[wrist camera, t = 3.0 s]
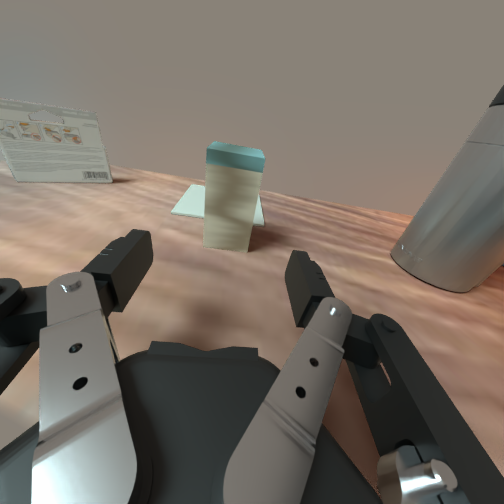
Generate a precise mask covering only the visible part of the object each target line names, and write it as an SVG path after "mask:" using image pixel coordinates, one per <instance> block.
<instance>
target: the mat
mask: <svg viewBox="0 0 504 504" xmlns="http://www.w3.org/2000/svg"><path fill="white" fill-rule="evenodd" d="M204 208H205V186H200V185H194V184H192V185H191V186H190V187H189V189H188V190H187V191H186V193H185V194H184V195H183V197H182V198H181V199H180V201H179V202H178V203H177V204H176V206H175V207H174V208H173V210H172V211H171V214H176V215H183V216H191V217H198V218H204ZM253 225H255V226H262V227H264V219H263V214H262V208H261V202H260V197H259V195H258V200H257V205H256V210H255V215H254V220H253Z"/></svg>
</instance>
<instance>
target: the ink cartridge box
mask: <svg viewBox="0 0 504 504" xmlns="http://www.w3.org/2000/svg"><path fill="white" fill-rule="evenodd" d="M41 110H45V111H47V112H49V113H52V114H54V115H56V116H58V117H60V118H62V119H63V121H64V123H55V122H46V121H38V120H31V119H30V118H29V114H31V113H34V112H37V111H41ZM0 149H1V151H2V153H3V155H4V157H5V159H6V162H7V164H8V166H9V168H10V170H11V172H12V175H13V177H14V179H15V180H16V181H17V182H49V183H112V182H113V180H112V175H111V170H110V166H109V161H108V157H107V152H106V147H105V146H103V143H102V139H101V133H100V129H99V125H98V120H97V116H96V112H93V111H86V110H79V109H72V108H64V107H58V106H51V105H44V104H38V103H30V102H23V101H17V100H10V99H3V98H0Z"/></svg>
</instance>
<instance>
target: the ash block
mask: <svg viewBox="0 0 504 504" xmlns="http://www.w3.org/2000/svg"><path fill="white" fill-rule="evenodd" d="M264 163H265V157H264V155H263V152H262V150H258V149H253V148H247V147H242V146H237V145H232V144H226V143H221V142H216V141H214V142H213V143H212V144H211V145H210V146H208V147H207V157H206V182H205V208H204V234H203V247H206V248H214V249H222V250H231V251H239V252H248V247H249V241H250V236H251V231H252V226H253V220H254V215H255V210H256V205H257V200H258V194H259V189H260V183H261V179H262V173H263V168H264Z"/></svg>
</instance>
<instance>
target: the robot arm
mask: <svg viewBox="0 0 504 504" xmlns="http://www.w3.org/2000/svg"><path fill="white" fill-rule="evenodd" d="M391 256H392V258H393V259H394V260H395V261H396V263H397V264H399V265H400V266H401V267H402V268H403V269H405V270H406V271H408V272H409V273H411V274H412V275H414V276H416V277H417V278H419V279H421V280H423V281H425V282H427V283H430V284H432V285H434V286H437V287H440V288H443V289H446V290H450V291H454V292H467V291H469V290H471V289H472V288H473V287H474V286H476V287H478V286H479V285H480V284H481V283H482V282H483V281H484V280H486V279H487V278H488V277H489V276H490V275H491V274H492V273H493V272H494V271H496V270H497V269H498V268H499V267H500V266H501V265H502V264H503V263H504V85H503V87H502V88H501V89H500V91H499V93H498V94H497V95H496V97H495V98H494V100H493V102H492V103H491V104H490V106H489V108H488V109H487V110H486V112H485V113H484V115H483V116H482V118H481V119H480V120H479V122H478V124H477V125H476V126H475V128H474V129H473V131H472V132H471V134H470V135H469V137H468V138H467V140H466V142H465V143H464V144H463V146H462V147H461V149H460V150H459V152H458V153H457V155H456V156H455V158H454V159H453V161H452V162H451V164H450V165H449V166H448V168H447V169H446V171H445V172H444V174H443V175H442V177H441V178H440V180H439V181H438V183H437V184H436V186H435V187H434V188H433V190H432V191H431V193H430V194H429V196H428V197H427V199H426V200H425V202H424V203H423V205H422V206H421V208H420V209H419V211H418V212H417V214H416V215H415V216H414V218H413V219H412V221H411V222H410V224H409V225H408V227H407V228H406V230H405V231H404V233H403V234H402V235H401V237H400V238H399V240H398V241H397V243H396V244H395V246H394V247H393V249H392V250H391ZM152 262H153V249H152V241H151V234H150V232H149V231H144V230H137V229H133V230H131V231H130V232H129V233H128V234H127V235H126V236H125V237H120V238H118V239H116V240H114V241H112V242H111V243H110V244H109V245H108V246H107V247H106V248H105V249H103V250H102V251H101V252H100V254H98V255H97V256H96V257H95V258H94V259H93V260H92V261H91V262H90V263H89V264H88V265H87V266H86V267H85V268H84V269H83V270H81V271H80V272H73V273H68V274H65V275H62V276H60V277H58V278H56V279H54V280H53V281H52V282H50V283H49V285H48V286H39V287H30V288H22V286H21V284H20V283H19V282H18V281H17V280H15V279H11V278H1V279H0V395H1V394H2V393H3V391H4V390H5V389H6V388H7V387H8V385H9V384H10V383H11V382H12V380H13V379H14V378H15V377H16V375H17V374H18V373H19V372H20V370H21V369H22V368H23V367H24V365H25V364H26V363H27V362H28V361H29V359H30V358H31V357H32V356H33V354H34V353H35V352H36V351H37V349H38V348H39V347H40V357H39V422H37V423H36V424H35V425H33V426H32V427H31V428H29V429H28V430H27V431H25V432H24V433H23V434H21V435H20V436H19V437H17V438H16V439H15V440H13V441H12V442H11V443H9V444H8V445H7V446H5V447H4V448H3V449H2V450H0V504H504V478H503V476H502V475H501V473H500V472H499V470H498V469H497V467H496V466H495V464H494V463H493V461H492V460H491V458H490V457H489V455H488V454H487V453H486V451H485V450H484V448H483V447H482V445H481V444H480V442H479V441H478V439H477V438H476V436H475V435H474V433H473V432H472V430H471V429H470V427H469V426H468V424H467V423H466V422H465V420H464V419H463V417H462V416H461V414H460V413H459V411H458V410H457V408H456V407H455V405H454V404H453V402H452V401H451V399H450V398H449V396H448V395H447V393H446V392H445V390H444V389H443V388H442V386H441V385H440V383H439V382H438V380H437V379H436V377H435V376H434V374H433V373H432V371H431V370H430V368H429V367H428V365H427V364H426V362H425V361H424V359H423V358H422V357H421V355H420V354H419V352H418V351H417V349H416V348H415V346H414V345H413V343H412V342H411V340H410V339H409V337H408V336H407V334H406V333H405V331H404V330H403V329H402V327H401V326H400V325H399V324H398V323H397V322H396V321H394V320H393V319H392V318H390V317H388V316H386V315H383V314H374V315H372V317H371V318H370V319H366V318H363V317H360V316H357V315H355V314H352V312H351V310H350V308H349V307H348V306H347V305H346V304H345V303H344V302H343V301H341V300H339V299H337V298H335V296H334V294H333V292H332V290H331V288H330V286H329V284H328V282H327V280H326V278H325V276H324V275H323V272H322V270H321V268H320V266H319V265H318V264H317V263H316V262H315V261H311V260H310V258H309V256H308V253H307V252H305V251H297V250H293V251H292V253H291V256H290V259H289V262H288V265H287V268H286V271H285V282H286V287H287V291H288V295H289V299H290V303H291V307H292V311H293V316H294V320H295V324H296V327H301V328H304V332H303V333H302V335H301V337H300V339H299V340H298V342H297V344H296V346H295V347H294V349H293V351H292V353H291V354H290V356H289V358H288V359H287V361H286V363H285V365H284V366H283V368H282V370H281V371H280V370H279V369H278V368H277V367H276V366H275V365H274V364H272V363H271V362H269V361H268V360H266V359H264V358H261V357H259V356H258V348H249V347H234V346H233V347H227V348H222V349H217V350H211V351H202V350H199V349H196V348H193V347H190V346H187V345H184V344H181V343H173V342H158V341H152V342H151V345H150V347H149V350H145V351H141V352H138V353H135V354H133V355H130V356H128V357H126V358H124V359H122V360H120V357H119V354H118V351H117V347H116V343H115V340H114V336H113V333H112V329H111V326H110V322H109V319H108V316H109V315H110V313H111V312H123V310H124V308H125V307H126V305H127V304H128V302H129V300H130V299H131V297H132V296H133V294H134V292H135V291H136V289H137V287H138V286H139V284H140V283H141V281H142V279H143V278H144V276H145V275H146V273H147V271H148V270H149V268H150V266H151V265H152ZM342 358H343V359H346V362H347V365H348V368H349V371H350V373H351V376H352V379H353V382H354V385H355V388H356V390H357V393H358V396H359V399H360V402H361V404H362V407H363V410H364V413H365V416H366V419H367V421H368V424H369V427H370V430H371V433H372V435H373V438H374V441H375V444H376V447H377V450H378V452H379V455H380V459H379V460H378V463H377V477H378V481H377V487H378V490H379V493H380V495H381V499H380V497H379V496H378V495H377V493H376V492H375V491H374V489H373V488H372V487H371V485H370V484H369V483H368V482H367V480H366V479H365V478H364V476H363V475H362V474H361V473H360V471H359V470H358V469H357V467H356V466H355V465H354V464H353V462H352V461H351V460H350V458H349V457H348V456H347V455H346V453H345V452H344V451H343V449H342V448H341V447H340V446H339V444H338V443H337V442H336V440H335V439H334V438H333V437H332V435H331V434H330V433H329V431H328V430H327V429H326V428H325V426H324V425H323V424H322V420H323V417H324V414H325V411H326V408H327V404H328V401H329V398H330V395H331V392H332V389H333V386H334V383H335V379H336V376H337V373H338V370H339V367H340V364H341V361H342ZM381 362H382V363H383V365H384V367H385V369H386V371H387V373H388V375H389V378H390V380H391V386H390V383H389V381H388V379H387V377H386V375H385V373H384V371H383V369H382V367H381V365H380V363H381Z"/></svg>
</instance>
